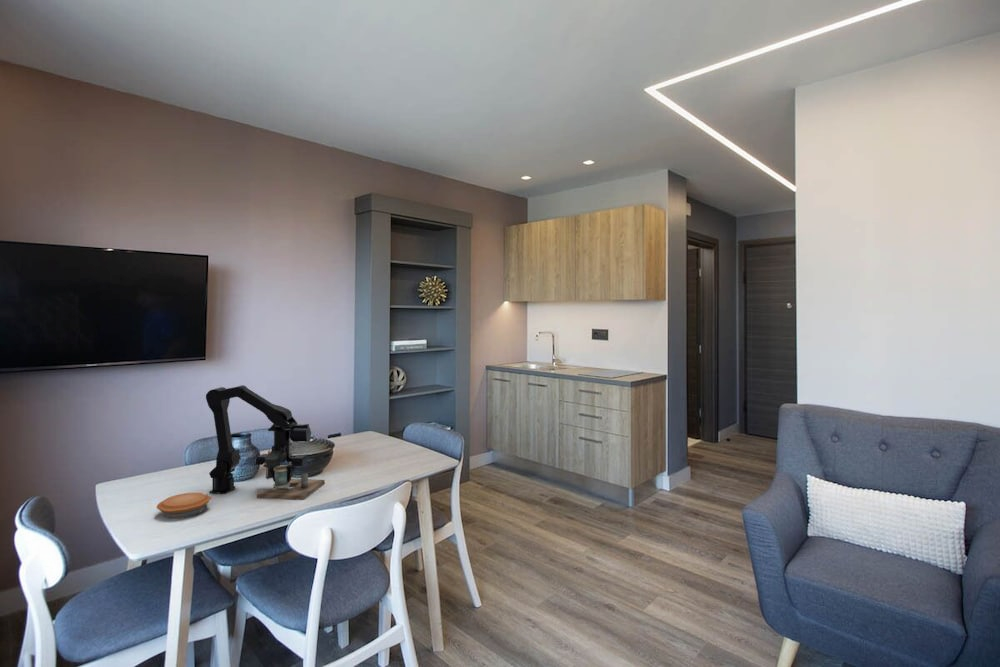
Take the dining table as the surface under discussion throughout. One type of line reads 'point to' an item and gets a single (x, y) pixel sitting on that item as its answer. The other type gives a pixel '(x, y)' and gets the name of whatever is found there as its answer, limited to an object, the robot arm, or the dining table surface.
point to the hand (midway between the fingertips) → (281, 481)
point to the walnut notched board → (294, 489)
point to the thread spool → (281, 477)
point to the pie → (183, 505)
